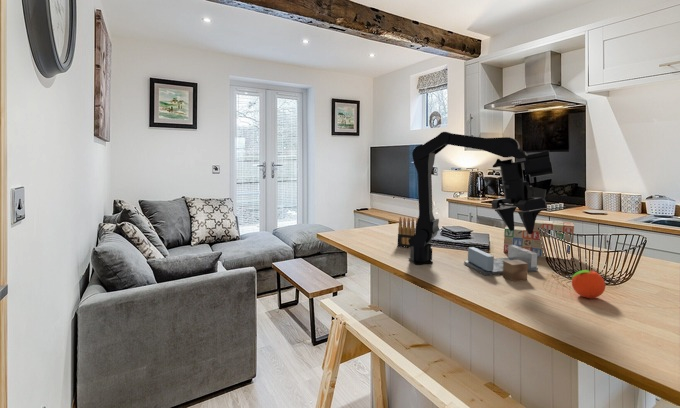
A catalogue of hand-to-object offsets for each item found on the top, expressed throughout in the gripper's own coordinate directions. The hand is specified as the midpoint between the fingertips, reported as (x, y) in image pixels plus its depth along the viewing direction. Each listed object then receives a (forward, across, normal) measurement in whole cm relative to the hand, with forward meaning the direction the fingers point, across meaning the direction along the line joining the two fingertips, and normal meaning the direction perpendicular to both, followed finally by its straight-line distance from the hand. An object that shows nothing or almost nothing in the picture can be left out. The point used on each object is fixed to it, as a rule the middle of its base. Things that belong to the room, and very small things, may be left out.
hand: (520, 232), depth 103 cm
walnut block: (+13, -1, +4) cm, 14 cm away
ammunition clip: (+6, +38, +24) cm, 46 cm away
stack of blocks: (+14, +22, -17) cm, 31 cm away
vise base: (+12, +10, +3) cm, 16 cm away
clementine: (+16, -16, -5) cm, 23 cm away
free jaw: (+10, +9, +10) cm, 17 cm away
